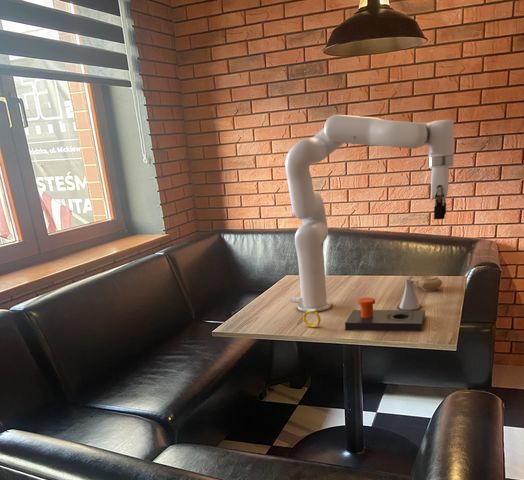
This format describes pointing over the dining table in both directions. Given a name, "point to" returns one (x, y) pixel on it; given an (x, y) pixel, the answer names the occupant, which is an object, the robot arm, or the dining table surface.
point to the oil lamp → (427, 282)
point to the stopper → (366, 307)
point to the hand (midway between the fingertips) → (440, 216)
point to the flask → (409, 297)
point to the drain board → (387, 320)
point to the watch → (315, 314)
